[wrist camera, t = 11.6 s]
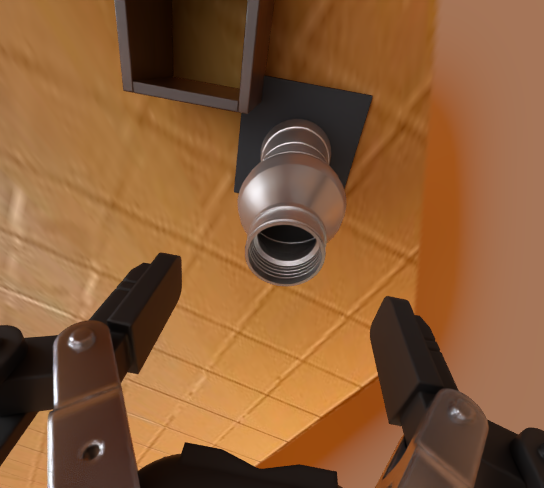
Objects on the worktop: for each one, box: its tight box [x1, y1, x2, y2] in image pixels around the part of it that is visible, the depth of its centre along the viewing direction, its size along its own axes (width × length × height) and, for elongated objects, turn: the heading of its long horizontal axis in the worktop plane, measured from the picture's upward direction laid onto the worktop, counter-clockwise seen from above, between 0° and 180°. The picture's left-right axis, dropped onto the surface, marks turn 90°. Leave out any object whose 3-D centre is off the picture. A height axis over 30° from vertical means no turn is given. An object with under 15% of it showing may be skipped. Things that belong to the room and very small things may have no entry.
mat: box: [234, 76, 372, 193], centre depth 31 cm, size 12×12×1 cm
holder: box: [114, 0, 274, 114], centre depth 23 cm, size 11×10×8 cm
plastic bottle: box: [238, 119, 346, 286], centre depth 22 cm, size 6×7×20 cm
